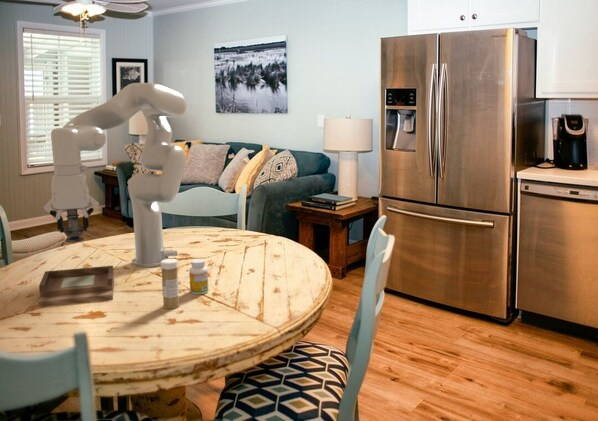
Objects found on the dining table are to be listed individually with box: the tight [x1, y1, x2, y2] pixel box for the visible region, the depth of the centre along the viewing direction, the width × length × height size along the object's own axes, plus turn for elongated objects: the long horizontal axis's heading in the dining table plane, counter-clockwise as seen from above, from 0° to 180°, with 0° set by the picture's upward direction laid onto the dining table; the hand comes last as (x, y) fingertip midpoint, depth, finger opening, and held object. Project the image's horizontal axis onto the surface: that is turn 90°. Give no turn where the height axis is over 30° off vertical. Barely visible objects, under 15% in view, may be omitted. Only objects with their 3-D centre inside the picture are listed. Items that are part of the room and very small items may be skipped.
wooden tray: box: [37, 265, 115, 308], centre depth 178 cm, size 20×18×5 cm
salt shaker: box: [63, 209, 85, 243], centre depth 176 cm, size 6×6×12 cm
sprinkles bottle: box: [160, 258, 180, 310], centre depth 165 cm, size 5×5×14 cm
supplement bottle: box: [189, 258, 209, 295], centre depth 178 cm, size 5×5×10 cm
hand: (73, 230), depth 176 cm, fingers closed on salt shaker, 5 cm apart
